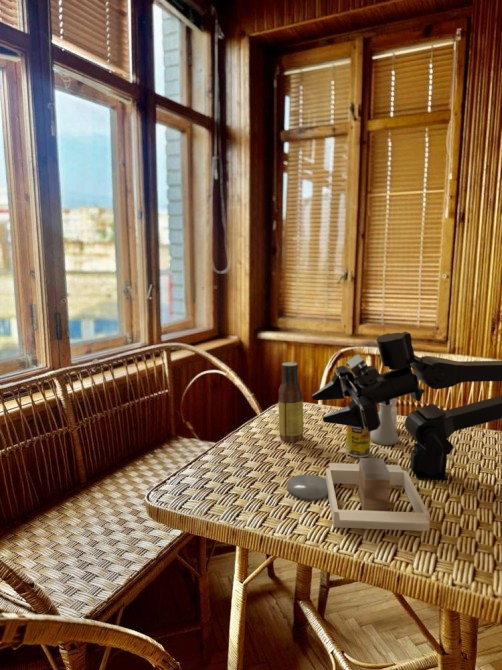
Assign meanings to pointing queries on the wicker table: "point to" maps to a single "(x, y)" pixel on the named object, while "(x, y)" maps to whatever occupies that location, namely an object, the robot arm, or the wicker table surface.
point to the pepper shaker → (394, 412)
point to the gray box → (373, 484)
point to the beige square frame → (376, 518)
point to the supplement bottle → (357, 442)
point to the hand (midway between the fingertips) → (317, 408)
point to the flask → (385, 427)
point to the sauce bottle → (290, 405)
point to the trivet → (308, 487)
